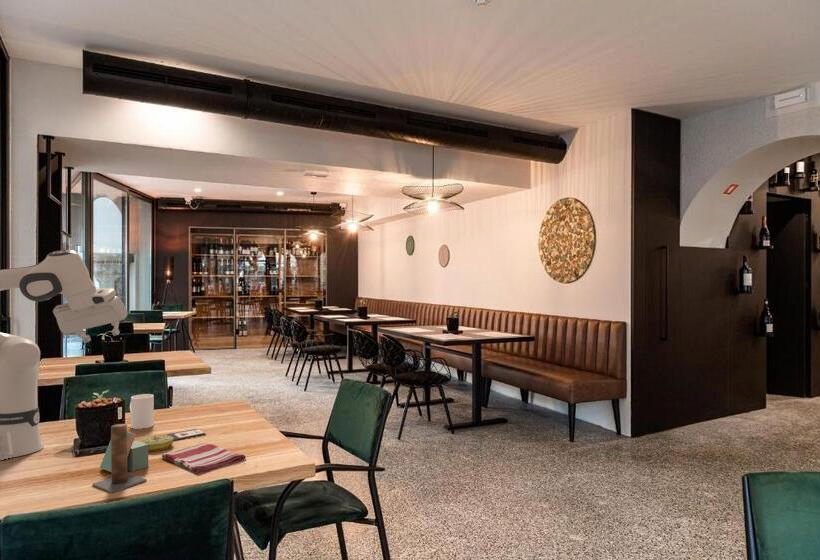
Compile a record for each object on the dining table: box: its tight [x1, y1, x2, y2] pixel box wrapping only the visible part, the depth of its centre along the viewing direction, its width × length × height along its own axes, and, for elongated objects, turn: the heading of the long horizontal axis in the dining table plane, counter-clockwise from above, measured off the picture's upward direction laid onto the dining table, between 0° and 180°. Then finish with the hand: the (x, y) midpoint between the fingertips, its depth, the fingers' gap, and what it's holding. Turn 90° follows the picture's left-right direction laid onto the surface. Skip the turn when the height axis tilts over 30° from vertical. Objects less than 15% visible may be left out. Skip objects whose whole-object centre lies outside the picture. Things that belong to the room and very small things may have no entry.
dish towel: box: [161, 442, 247, 475], centre depth 173 cm, size 17×23×3 cm
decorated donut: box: [140, 434, 174, 453], centre depth 185 cm, size 10×11×4 cm
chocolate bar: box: [165, 428, 207, 442], centre depth 197 cm, size 9×1×18 cm
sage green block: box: [127, 440, 149, 472], centre depth 167 cm, size 5×11×7 cm, turn 58°
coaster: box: [92, 472, 147, 494], centre depth 153 cm, size 10×10×1 cm
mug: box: [129, 393, 155, 430], centre depth 213 cm, size 12×8×12 cm
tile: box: [99, 431, 137, 473], centre depth 164 cm, size 2×9×12 cm, turn 58°
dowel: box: [110, 423, 128, 484], centre depth 153 cm, size 4×4×16 cm
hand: (102, 337), depth 170 cm, fingers open, 8 cm apart
